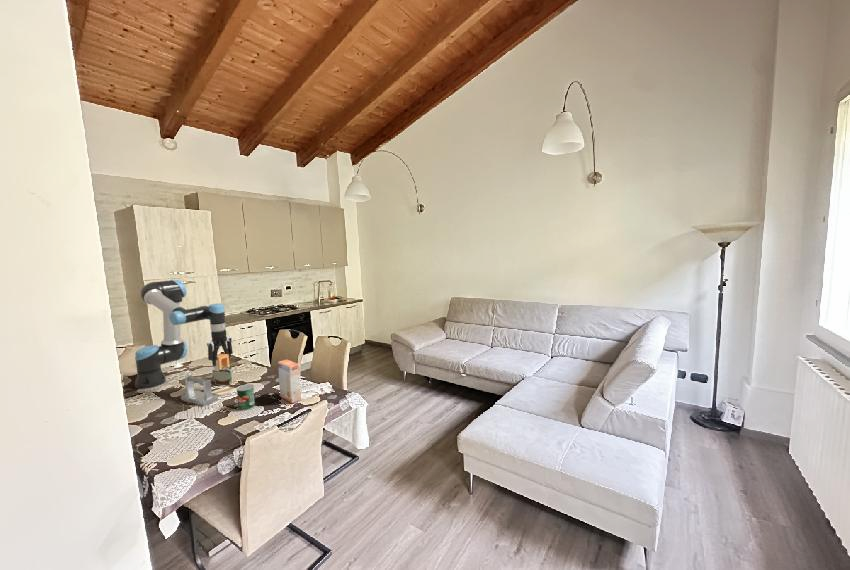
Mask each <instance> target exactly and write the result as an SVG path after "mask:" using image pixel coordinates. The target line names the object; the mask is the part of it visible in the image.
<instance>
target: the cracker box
mask: <svg viewBox="0 0 850 570" xmlns="http://www.w3.org/2000/svg"><path fill="white" fill-rule="evenodd" d="M277 367H278V382H279V383H278V385H279V397H280V398H282V399H284V400H286V401H287V402H288V403H290V404H295V403H297V402H300V401H302V394H301V390H302V389H301V375H300V364H299V363H296V362H295V361H292V360H290V359H283V360H280V361H278V362H277Z"/></svg>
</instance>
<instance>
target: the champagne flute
mask: <svg viewBox="0 0 850 570" xmlns="http://www.w3.org/2000/svg"><path fill="white" fill-rule="evenodd" d="M173 366H174V367H173ZM173 366H171V367H172V369H177V368H181V367H182V368H183V366H184V364H182V363H179V360H177V361H175V364H174V365H173Z"/></svg>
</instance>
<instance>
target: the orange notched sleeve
mask: <svg viewBox="0 0 850 570" xmlns="http://www.w3.org/2000/svg"><path fill="white" fill-rule="evenodd" d="M216 360H218V369H219V370H221V369H222V367H223V366H224V367H231V366H230V361H229V354H225V353H220V354H217V358H216Z"/></svg>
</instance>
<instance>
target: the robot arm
mask: <svg viewBox="0 0 850 570" xmlns="http://www.w3.org/2000/svg"><path fill="white" fill-rule="evenodd" d="M139 294H140V299H142V301H143V302H144V303H146V304H148V305H152V306H154V307H155V308H157V309H158V310H160V311H161V312H162V315H163V316H162V317H163V318H162V319H163V322H162V323H163V324H162V325H163V340H162V341H160V345H157V344H152V345H147V346H144V347H141V348H139V349H138V350H136V352H135V353H134V354H135V356H134V357H135V358H134V359H135V366H136V374H137V376H136V378H135V381H134V382H135V383H134V386H135V388H136V389H141V390H142V389H149V388H153V387H157V386H160V385H162V384H164V383H166V381H167V379H166V376H165V374H164V372H163V371H162V367H161V366H162V365H165V364H168V363H172V362H176V361H177V360H178V361H179V360H182V359H184V358H185V357H186V356H187V353H188V345H187V343H186V342H185V341H184V339H182V338H181V325H183V324H189V323H194V322H199V321H204V320H209V324H210V325H209V326H210V331H211V332H210V335H211V337H210V338H211V342H207V343H206V345H207V355H208V356H207V357H208V360H209V361H211V362H212V363H211V365H212V366H213V369H214V371H219V369H218V360H216V358H217V355H218V353H219V349H220V347H221V348H222V350H223V352H224V354H229V362H230V360H231V356H232V355H233V353H234V352H233V346H232V340H233V338H232V337H228V336H227V329H226V328H227V325H226V314H225V313H226V311H225V306H224V304H223V303H211V304H209V305H200V306H198V307H194V308H188V309H186V308H184V307H182V306H181V305H180V304H181V303H182V302H183V298H186V296H187V288H186V286H185V284H184V283H183V282H182V281H181V280H179V279H171V280H170V279H169V280H162V281H152V282H149V283H147V284H145V285H144V286H143V287H142V288H141V290H140V293H139Z"/></svg>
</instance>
